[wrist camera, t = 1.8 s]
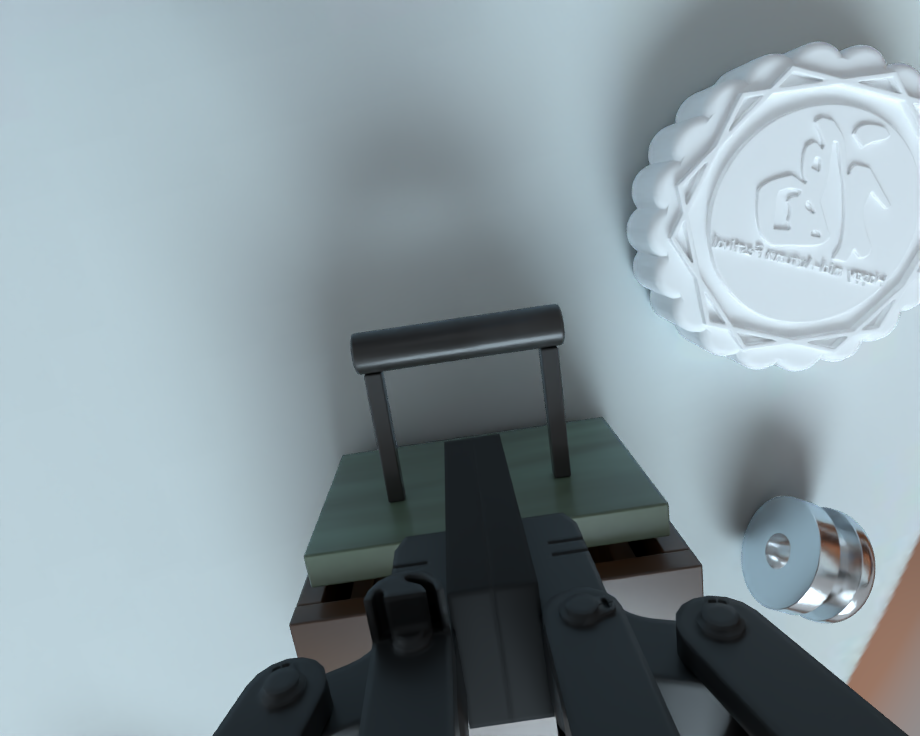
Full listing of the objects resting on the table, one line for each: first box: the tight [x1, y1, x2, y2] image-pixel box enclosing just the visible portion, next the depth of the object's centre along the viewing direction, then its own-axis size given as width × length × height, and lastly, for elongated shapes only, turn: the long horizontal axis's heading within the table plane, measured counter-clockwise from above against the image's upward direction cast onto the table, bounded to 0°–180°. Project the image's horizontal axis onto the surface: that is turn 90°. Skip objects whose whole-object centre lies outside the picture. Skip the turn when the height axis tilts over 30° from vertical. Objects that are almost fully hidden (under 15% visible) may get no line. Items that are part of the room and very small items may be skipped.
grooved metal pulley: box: [741, 496, 875, 623], centre depth 27 cm, size 5×3×5 cm, turn 162°
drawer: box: [304, 304, 670, 599], centre depth 24 cm, size 21×12×8 cm, turn 8°
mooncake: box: [626, 41, 920, 371], centre depth 23 cm, size 12×12×4 cm
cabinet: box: [289, 520, 703, 736], centre depth 25 cm, size 16×13×10 cm
